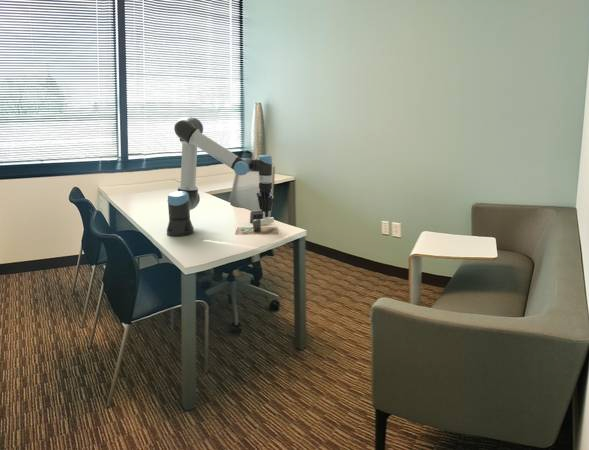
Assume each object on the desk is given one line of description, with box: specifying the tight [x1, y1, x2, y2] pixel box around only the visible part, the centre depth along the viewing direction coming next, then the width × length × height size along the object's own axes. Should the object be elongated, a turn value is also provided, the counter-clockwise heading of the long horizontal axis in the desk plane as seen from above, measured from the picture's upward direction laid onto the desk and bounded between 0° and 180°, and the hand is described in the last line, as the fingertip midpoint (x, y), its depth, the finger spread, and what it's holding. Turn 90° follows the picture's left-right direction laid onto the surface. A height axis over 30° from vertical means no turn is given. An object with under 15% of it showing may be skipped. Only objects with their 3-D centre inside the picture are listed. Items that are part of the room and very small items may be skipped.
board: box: [234, 226, 279, 236], centre depth 280 cm, size 24×16×2 cm, turn 92°
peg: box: [243, 216, 275, 232], centre depth 280 cm, size 22×4×6 cm, turn 132°
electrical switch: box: [249, 209, 263, 224], centre depth 298 cm, size 9×5×9 cm, turn 113°
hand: (265, 222), depth 285 cm, fingers closed
